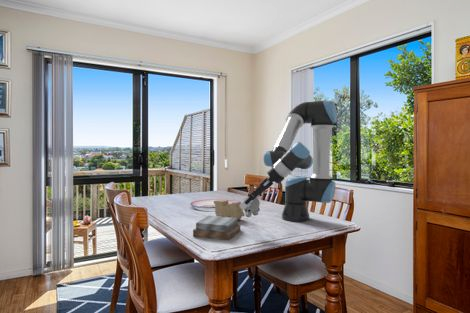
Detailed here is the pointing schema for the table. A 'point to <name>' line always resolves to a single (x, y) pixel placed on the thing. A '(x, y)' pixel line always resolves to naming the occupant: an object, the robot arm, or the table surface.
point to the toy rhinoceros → (252, 208)
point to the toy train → (228, 209)
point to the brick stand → (217, 227)
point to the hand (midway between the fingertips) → (244, 205)
